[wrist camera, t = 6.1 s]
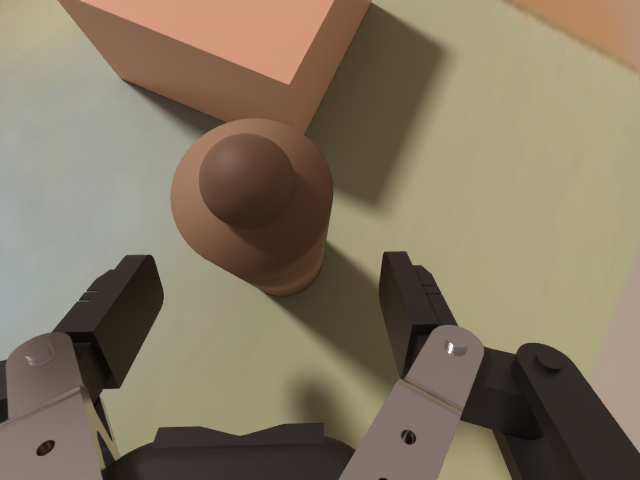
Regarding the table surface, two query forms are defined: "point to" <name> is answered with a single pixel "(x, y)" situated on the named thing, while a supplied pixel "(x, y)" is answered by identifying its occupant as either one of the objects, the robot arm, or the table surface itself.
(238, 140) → the pepper mill
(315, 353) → the table surface
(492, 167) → the table surface
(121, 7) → the riser block
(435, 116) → the table surface
